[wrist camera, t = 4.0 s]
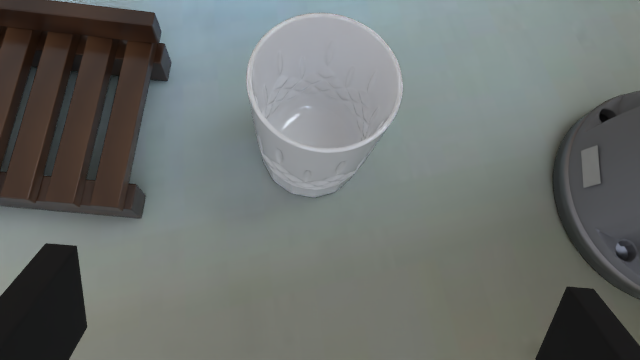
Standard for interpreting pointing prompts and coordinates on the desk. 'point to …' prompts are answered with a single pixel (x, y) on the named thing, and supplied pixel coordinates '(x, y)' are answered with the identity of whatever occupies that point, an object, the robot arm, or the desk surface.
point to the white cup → (321, 99)
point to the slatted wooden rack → (75, 102)
